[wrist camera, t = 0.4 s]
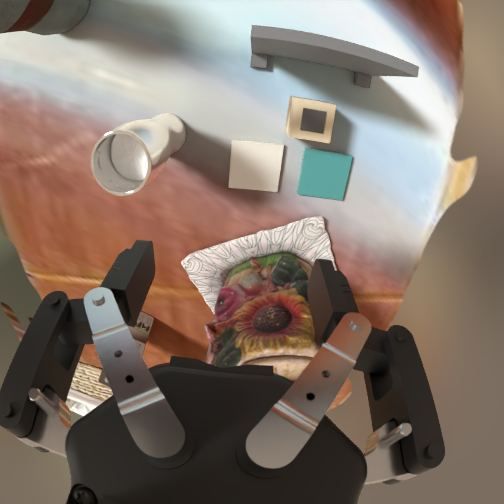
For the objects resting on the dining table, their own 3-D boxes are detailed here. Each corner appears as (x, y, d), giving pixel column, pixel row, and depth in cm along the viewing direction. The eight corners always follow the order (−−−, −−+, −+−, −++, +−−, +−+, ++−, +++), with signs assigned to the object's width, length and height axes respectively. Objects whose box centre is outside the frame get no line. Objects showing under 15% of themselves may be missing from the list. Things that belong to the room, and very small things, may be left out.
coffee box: (128, 304, 54) (103, 366, 40) (155, 317, 56) (135, 380, 42) (119, 325, 58) (97, 382, 45) (143, 337, 60) (125, 395, 47)
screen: (254, 33, 27) (254, 7, 16) (371, 56, 28) (420, 50, 17) (250, 66, 30) (248, 56, 19) (367, 87, 30) (414, 94, 20)
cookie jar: (344, 312, 54) (381, 460, 28) (233, 339, 59) (226, 481, 33) (322, 208, 41) (400, 411, 15) (178, 252, 46) (121, 439, 20)
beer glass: (196, 118, 34) (162, 140, 21) (179, 163, 37) (143, 207, 25) (150, 104, 32) (96, 120, 20) (137, 148, 36) (84, 186, 23)
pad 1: (232, 139, 35) (231, 140, 35) (283, 144, 36) (283, 145, 35) (228, 186, 39) (228, 187, 39) (276, 190, 40) (277, 192, 39)
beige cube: (289, 95, 32) (295, 97, 28) (326, 102, 32) (336, 105, 28) (285, 131, 35) (289, 138, 31) (320, 136, 35) (329, 144, 31)
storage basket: (81, 379, 78) (69, 411, 66) (66, 354, 69) (51, 391, 57) (140, 395, 80) (131, 432, 68) (131, 373, 71) (119, 415, 59)
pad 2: (304, 147, 36) (305, 148, 35) (351, 155, 36) (352, 156, 36) (297, 192, 40) (297, 194, 39) (341, 198, 40) (342, 200, 40)
